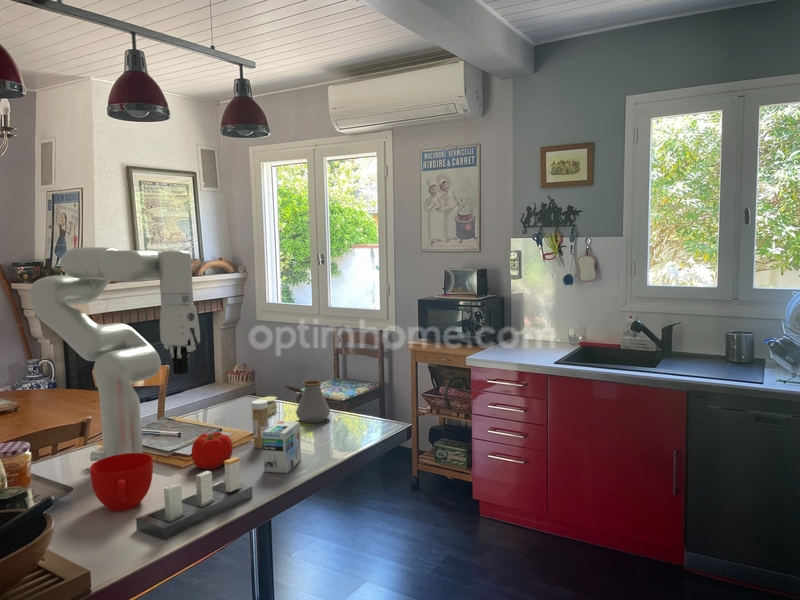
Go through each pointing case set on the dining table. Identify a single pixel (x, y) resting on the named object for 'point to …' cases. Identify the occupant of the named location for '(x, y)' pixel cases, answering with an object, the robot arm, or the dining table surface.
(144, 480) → the ceramic cup
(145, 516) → the breaker panel
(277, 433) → the light bulb box
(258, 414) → the sprinkles bottle
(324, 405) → the coffee pot
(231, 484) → the handle
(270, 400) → the stacked layers on plate
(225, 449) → the tomato
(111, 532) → the dining table surface
